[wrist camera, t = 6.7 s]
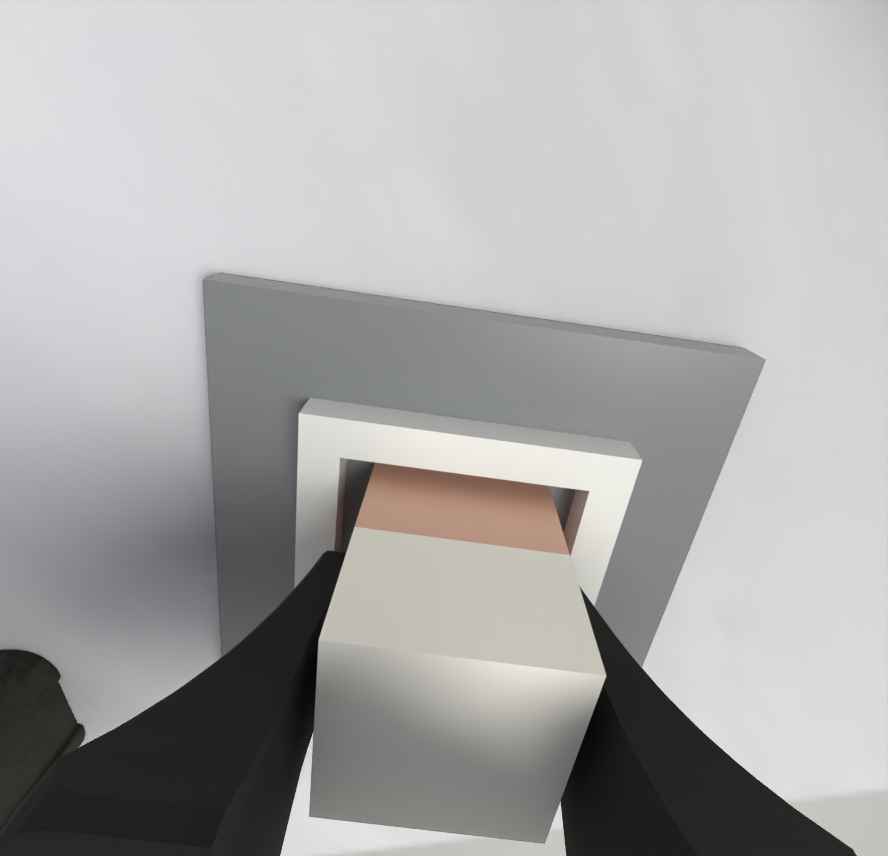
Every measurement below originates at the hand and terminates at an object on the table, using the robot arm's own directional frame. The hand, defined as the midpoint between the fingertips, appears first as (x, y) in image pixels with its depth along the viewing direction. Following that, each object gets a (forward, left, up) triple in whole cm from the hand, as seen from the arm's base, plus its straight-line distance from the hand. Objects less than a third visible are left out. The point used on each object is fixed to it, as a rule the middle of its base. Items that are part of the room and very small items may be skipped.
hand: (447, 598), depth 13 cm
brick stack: (0, 0, -2) cm, 2 cm away
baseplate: (0, 0, -3) cm, 3 cm away
